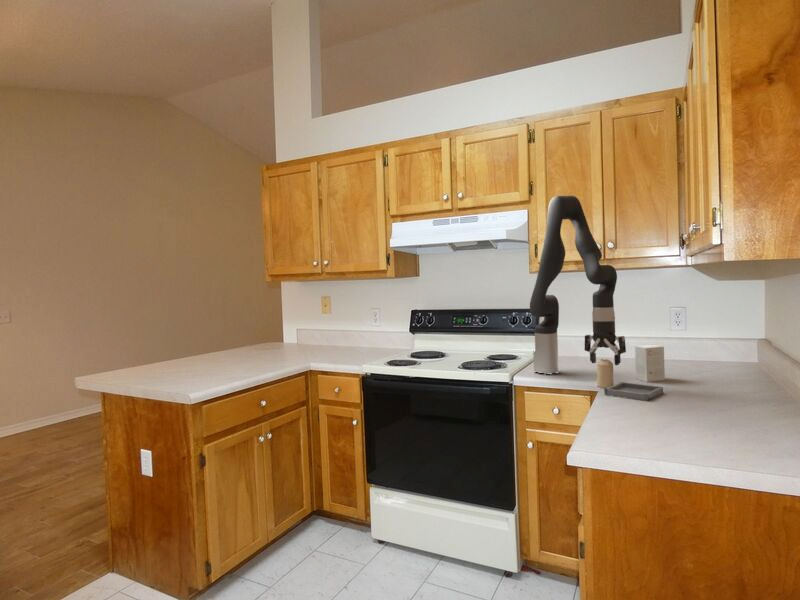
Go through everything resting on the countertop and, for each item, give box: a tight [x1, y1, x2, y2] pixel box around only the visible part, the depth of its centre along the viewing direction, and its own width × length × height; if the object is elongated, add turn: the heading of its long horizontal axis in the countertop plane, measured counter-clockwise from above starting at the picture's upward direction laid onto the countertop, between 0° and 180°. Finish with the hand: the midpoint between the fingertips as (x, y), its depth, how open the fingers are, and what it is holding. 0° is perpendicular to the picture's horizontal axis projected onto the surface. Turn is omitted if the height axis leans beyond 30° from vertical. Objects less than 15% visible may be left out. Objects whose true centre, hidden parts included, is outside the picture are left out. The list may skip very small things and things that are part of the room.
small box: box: [634, 344, 666, 383], centre depth 187 cm, size 8×6×13 cm
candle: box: [596, 358, 615, 389], centre depth 178 cm, size 6×6×10 cm
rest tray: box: [603, 381, 664, 402], centre depth 166 cm, size 14×14×2 cm
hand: (605, 363), depth 178 cm, fingers open, 8 cm apart
